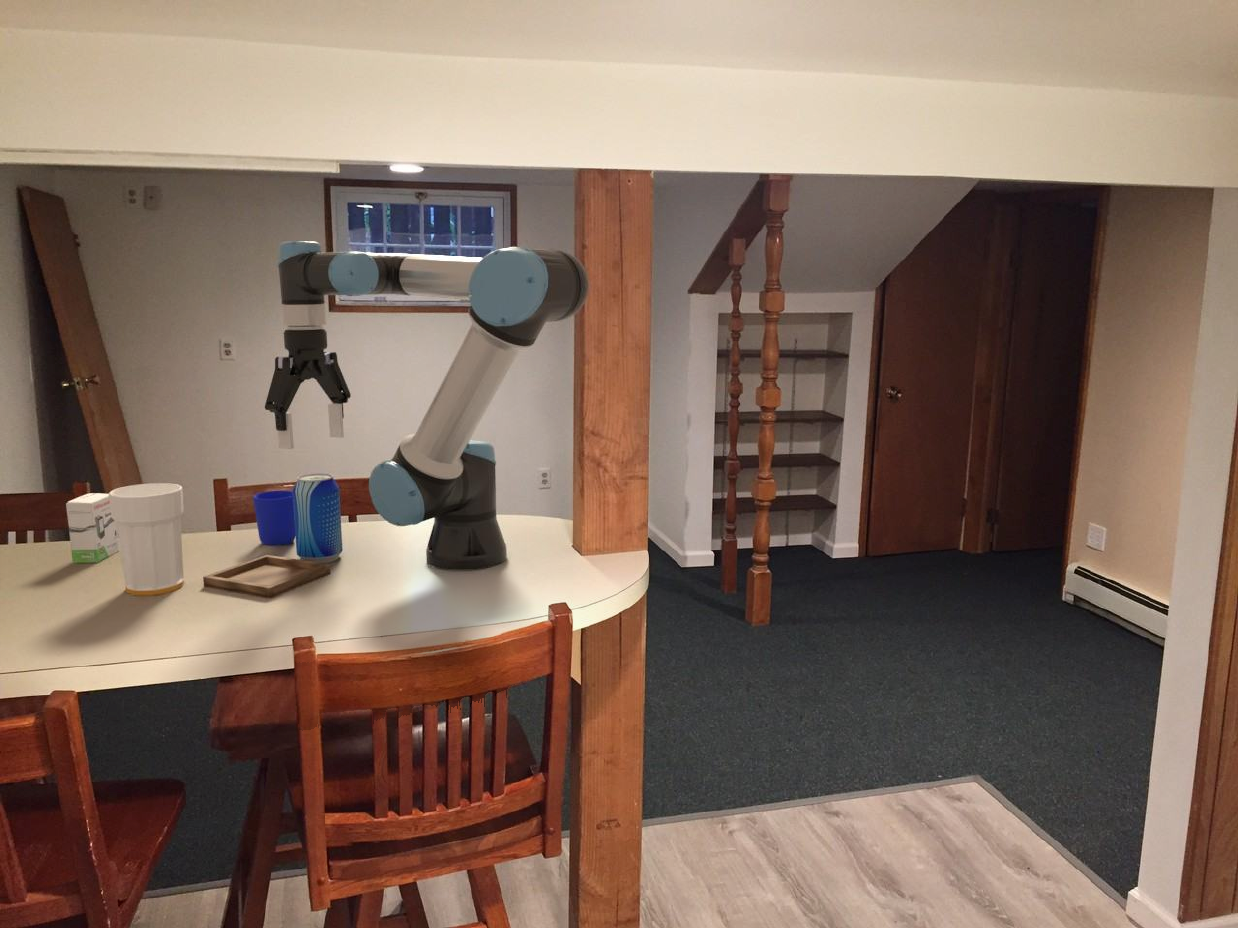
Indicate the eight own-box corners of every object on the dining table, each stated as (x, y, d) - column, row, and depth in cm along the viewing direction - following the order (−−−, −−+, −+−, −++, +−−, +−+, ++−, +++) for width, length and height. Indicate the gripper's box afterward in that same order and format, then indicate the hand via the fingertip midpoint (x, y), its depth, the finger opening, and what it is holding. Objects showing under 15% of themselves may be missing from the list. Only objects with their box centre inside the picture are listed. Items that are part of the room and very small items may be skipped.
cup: (107, 588, 169) (97, 490, 166) (171, 573, 177) (163, 480, 174) (137, 602, 162) (127, 500, 158) (202, 586, 170) (194, 488, 167)
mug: (313, 533, 205) (310, 486, 203) (288, 548, 193) (285, 499, 191) (276, 532, 206) (272, 485, 204) (249, 547, 194) (245, 498, 192)
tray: (330, 573, 177) (329, 564, 177) (269, 598, 164) (269, 588, 163) (267, 563, 183) (266, 554, 183) (203, 586, 170) (203, 576, 170)
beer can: (324, 566, 182) (319, 482, 179) (287, 562, 184) (282, 479, 181) (351, 554, 189) (347, 473, 186) (315, 550, 192) (310, 471, 189)
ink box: (97, 563, 184) (91, 502, 182) (71, 563, 184) (64, 502, 182) (120, 550, 192) (114, 492, 190) (95, 550, 192) (89, 492, 190)
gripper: (334, 324, 191) (340, 431, 195) (237, 331, 169) (247, 451, 173) (365, 325, 188) (371, 433, 192) (270, 332, 166) (279, 454, 170)
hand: (312, 442), depth 183 cm, fingers open, 13 cm apart
